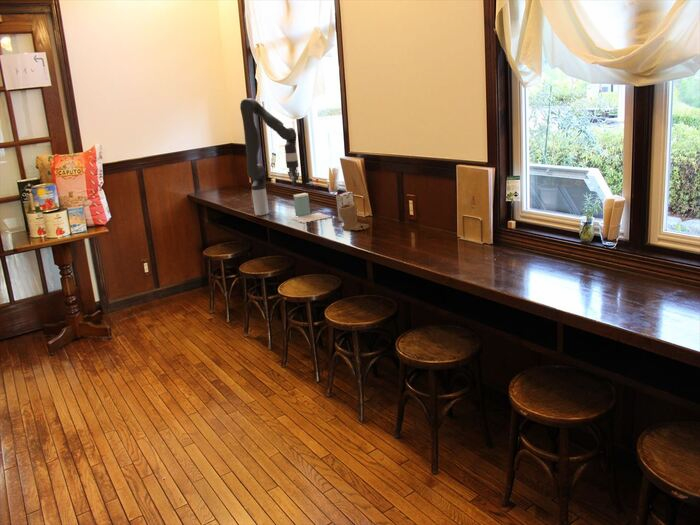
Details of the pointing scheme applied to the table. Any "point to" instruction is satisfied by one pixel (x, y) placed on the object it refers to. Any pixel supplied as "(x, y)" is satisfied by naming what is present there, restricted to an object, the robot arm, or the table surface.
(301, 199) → the teal block
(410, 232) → the table surface
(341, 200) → the candy bar box
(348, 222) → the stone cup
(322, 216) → the mat
